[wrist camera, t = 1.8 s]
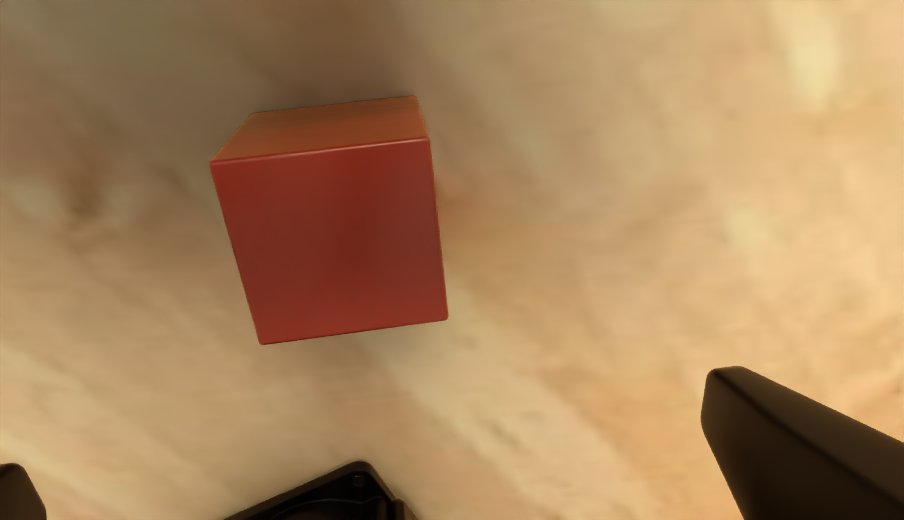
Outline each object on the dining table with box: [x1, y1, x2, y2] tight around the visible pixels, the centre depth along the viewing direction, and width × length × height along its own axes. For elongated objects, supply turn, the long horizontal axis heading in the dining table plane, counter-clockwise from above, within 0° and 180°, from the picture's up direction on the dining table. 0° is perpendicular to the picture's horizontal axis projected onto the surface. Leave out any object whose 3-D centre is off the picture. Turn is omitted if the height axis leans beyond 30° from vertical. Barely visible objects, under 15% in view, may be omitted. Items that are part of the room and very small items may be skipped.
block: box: [209, 96, 448, 345], centre depth 15 cm, size 4×4×4 cm
